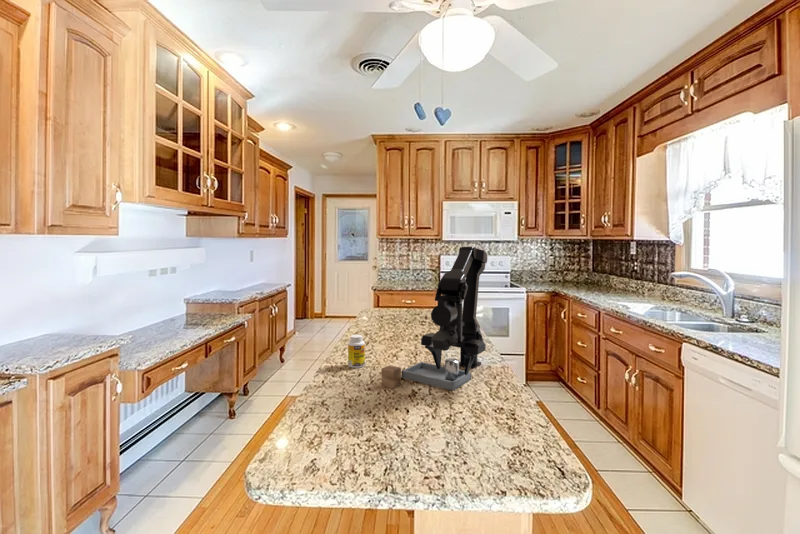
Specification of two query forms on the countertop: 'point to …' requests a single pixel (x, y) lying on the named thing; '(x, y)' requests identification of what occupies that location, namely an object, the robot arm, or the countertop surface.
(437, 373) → the parts tray
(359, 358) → the supplement bottle
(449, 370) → the grey peg
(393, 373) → the walnut block
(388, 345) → the countertop surface
